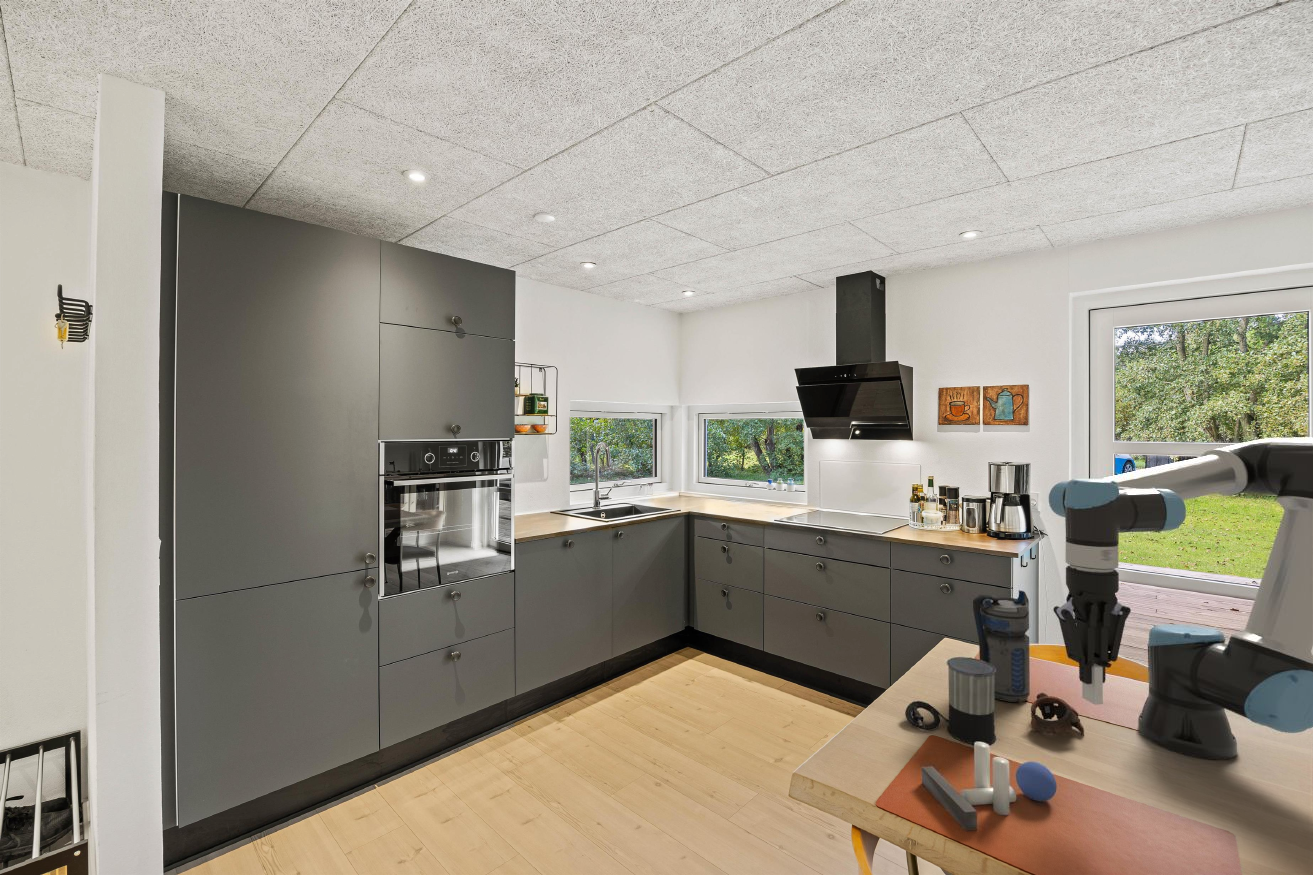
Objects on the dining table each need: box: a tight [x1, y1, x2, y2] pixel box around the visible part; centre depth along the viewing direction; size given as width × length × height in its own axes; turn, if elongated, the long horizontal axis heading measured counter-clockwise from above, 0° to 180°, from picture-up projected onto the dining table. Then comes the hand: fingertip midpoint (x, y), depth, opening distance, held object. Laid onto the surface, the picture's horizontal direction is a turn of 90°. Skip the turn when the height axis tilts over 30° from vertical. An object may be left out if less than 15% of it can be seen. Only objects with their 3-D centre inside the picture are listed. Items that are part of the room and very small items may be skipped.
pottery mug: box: [1030, 692, 1085, 736], centre depth 128 cm, size 12×10×8 cm
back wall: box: [921, 765, 978, 832], centre depth 103 cm, size 2×13×3 cm, turn 5°
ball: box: [1015, 761, 1058, 802], centre depth 104 cm, size 6×6×6 cm
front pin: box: [960, 785, 1017, 806], centre depth 103 cm, size 2×2×8 cm
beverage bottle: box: [972, 590, 1031, 703], centre depth 144 cm, size 10×13×25 cm
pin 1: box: [973, 742, 991, 789], centre depth 106 cm, size 2×2×8 cm
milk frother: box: [904, 656, 997, 745], centre depth 128 cm, size 14×16×15 cm
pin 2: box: [992, 756, 1011, 816], centre depth 101 cm, size 2×2×8 cm
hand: (1092, 700), depth 105 cm, fingers closed
